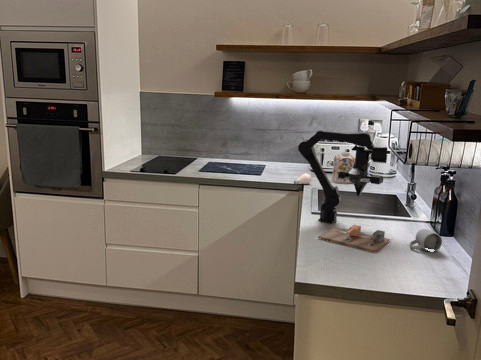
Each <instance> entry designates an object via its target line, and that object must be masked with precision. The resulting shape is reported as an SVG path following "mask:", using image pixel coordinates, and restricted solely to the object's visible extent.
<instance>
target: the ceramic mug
mask: <svg viewBox="0 0 481 360" xmlns="http://www.w3.org/2000/svg"><path fill="white" fill-rule="evenodd" d="M416 244H418V245H416ZM442 245H443V238H442V236H440V234H438V233H437V232H435V231H432V230H431V229H428V228H421V229H420V230H418V231H417V232H416V234H415V239H414V240H412V241H410V243H409V247H411V248H412V249H411V248H410V249H411V250H413V249H416V250H420V249H421V250H422V249H423V250H424V251H426V252H427V251H428V250H426V249H425V248H428V249H434V250H435V251H436V252H437V251H439V250H440V249H441V247H442ZM416 250H415V251H416Z"/></svg>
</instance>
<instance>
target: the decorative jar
mask: <svg viewBox="0 0 481 360" xmlns="http://www.w3.org/2000/svg"><path fill="white" fill-rule="evenodd" d="M354 163H355V156H354V155H351V154H350V152H347V151H344V152H341V154H336V155H335V156H334V158H333V164H332V165H333V167H332V175H331V176H332V177H331V178H332V180H333V182H334V183H335V184H353V183H352V182H350V180H349V177H346V178H344V179H342V178H338V173H339V172H340V171H342V170H347V171H350V170H351V169H353V165H354ZM353 185H354V184H353Z"/></svg>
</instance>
